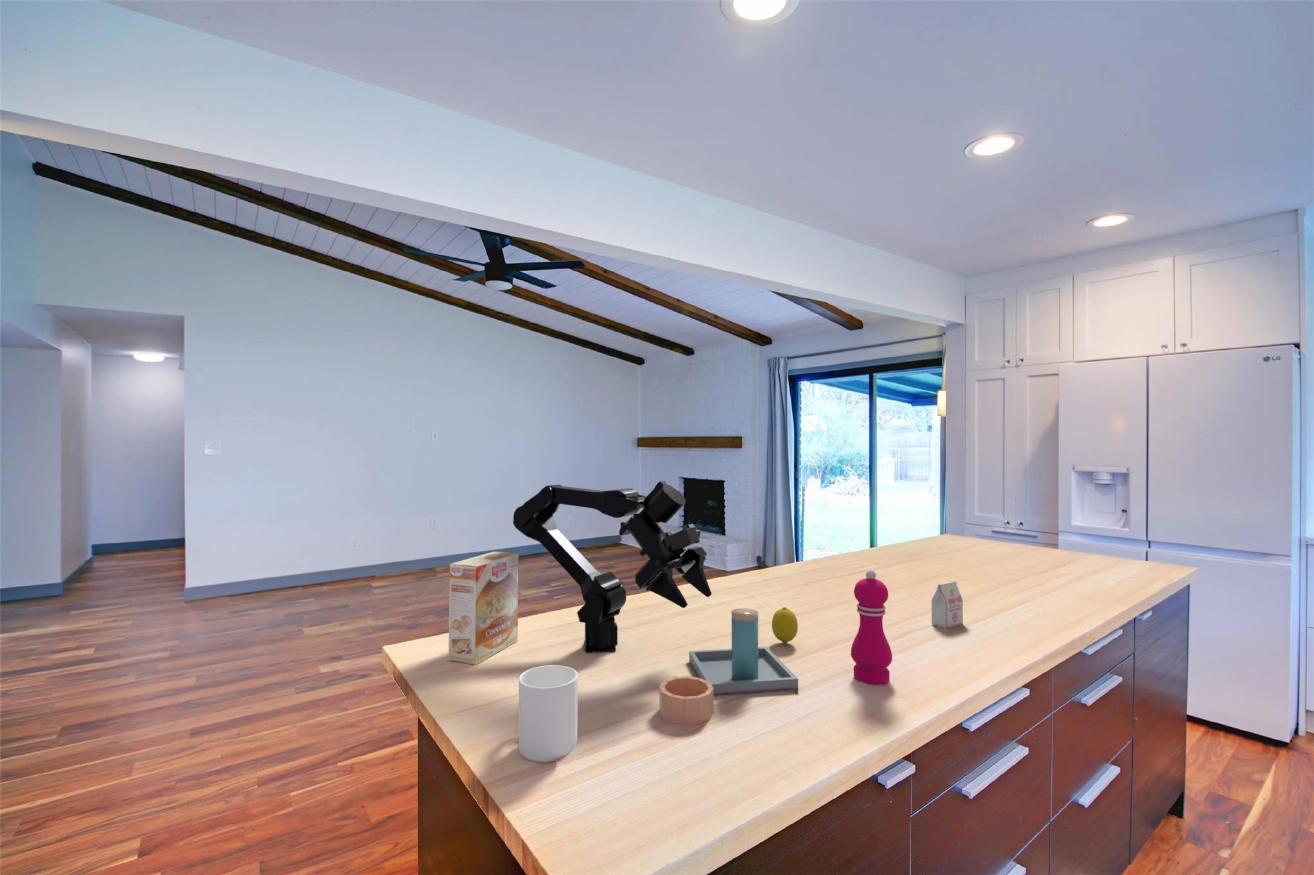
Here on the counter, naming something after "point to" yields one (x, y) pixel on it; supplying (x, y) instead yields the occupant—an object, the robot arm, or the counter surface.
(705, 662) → the tray
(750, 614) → the spice jar
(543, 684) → the mug
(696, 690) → the terracotta cup
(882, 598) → the pepper mill
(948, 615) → the milk carton
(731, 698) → the counter surface
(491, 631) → the coffeecake box
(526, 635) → the counter surface
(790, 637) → the lemon
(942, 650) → the counter surface
